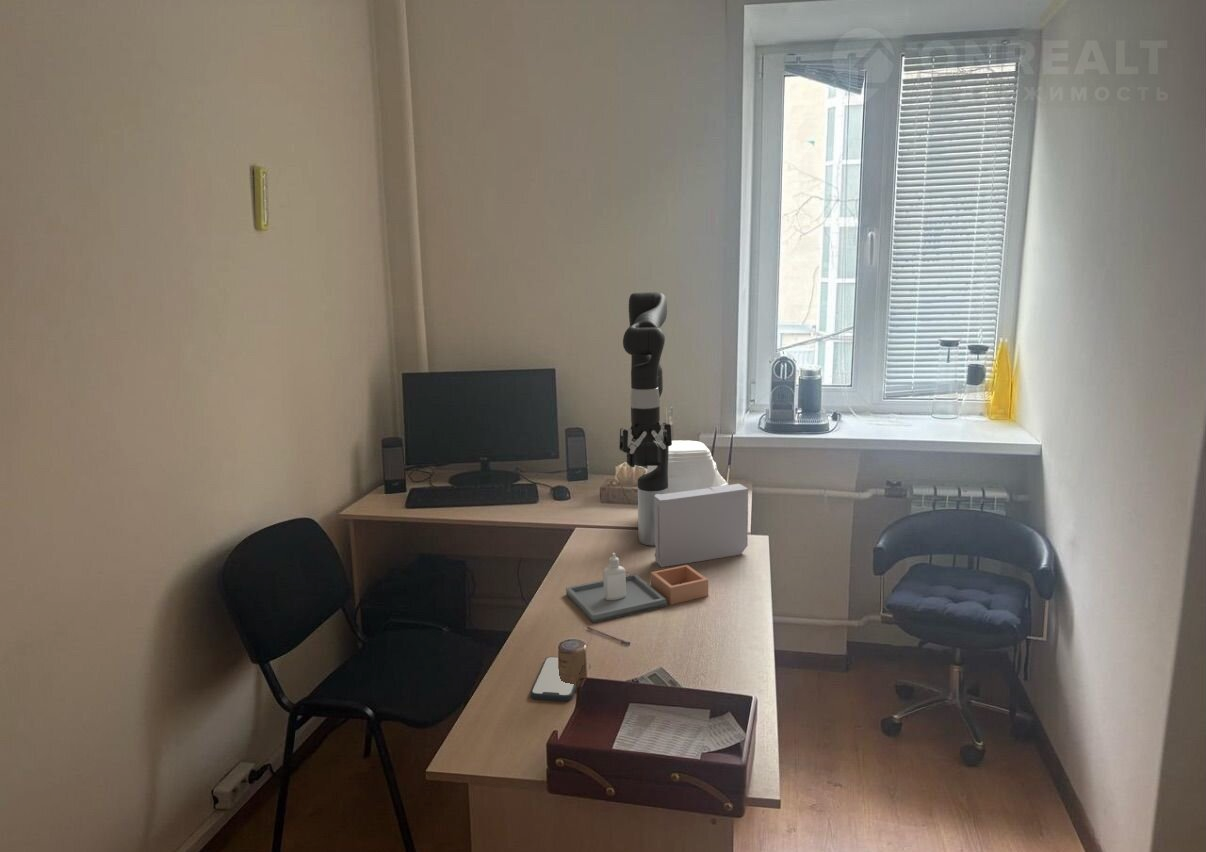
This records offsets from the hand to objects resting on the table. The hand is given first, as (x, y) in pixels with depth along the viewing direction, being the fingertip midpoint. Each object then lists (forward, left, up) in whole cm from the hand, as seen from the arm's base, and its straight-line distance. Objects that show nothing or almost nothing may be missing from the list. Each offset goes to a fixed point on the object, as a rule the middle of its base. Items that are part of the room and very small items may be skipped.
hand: (646, 464), depth 210 cm
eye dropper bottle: (+9, -14, -32) cm, 36 cm away
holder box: (+12, +3, -32) cm, 34 cm away
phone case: (+38, -41, -33) cm, 65 cm away
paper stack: (-34, +32, -32) cm, 57 cm away
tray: (+9, -14, -32) cm, 36 cm away
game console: (-6, +20, -32) cm, 39 cm away
